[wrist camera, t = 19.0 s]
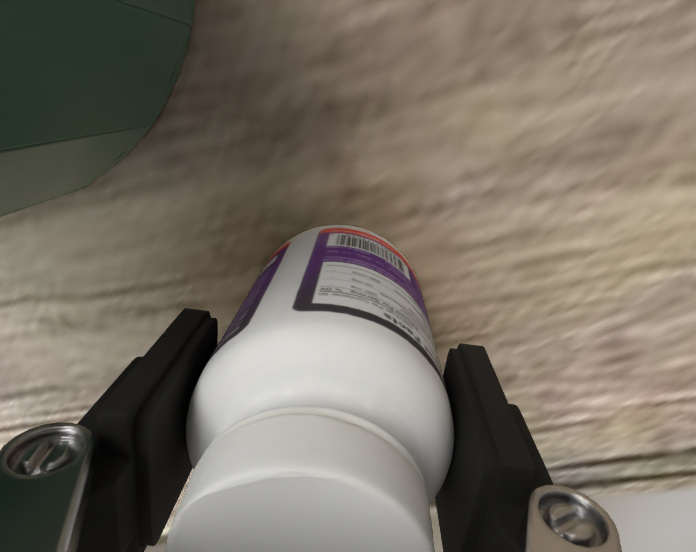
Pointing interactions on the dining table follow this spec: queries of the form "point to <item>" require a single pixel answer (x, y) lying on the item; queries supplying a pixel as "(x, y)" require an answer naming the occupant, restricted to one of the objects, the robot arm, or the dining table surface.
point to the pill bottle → (320, 409)
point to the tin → (81, 88)
